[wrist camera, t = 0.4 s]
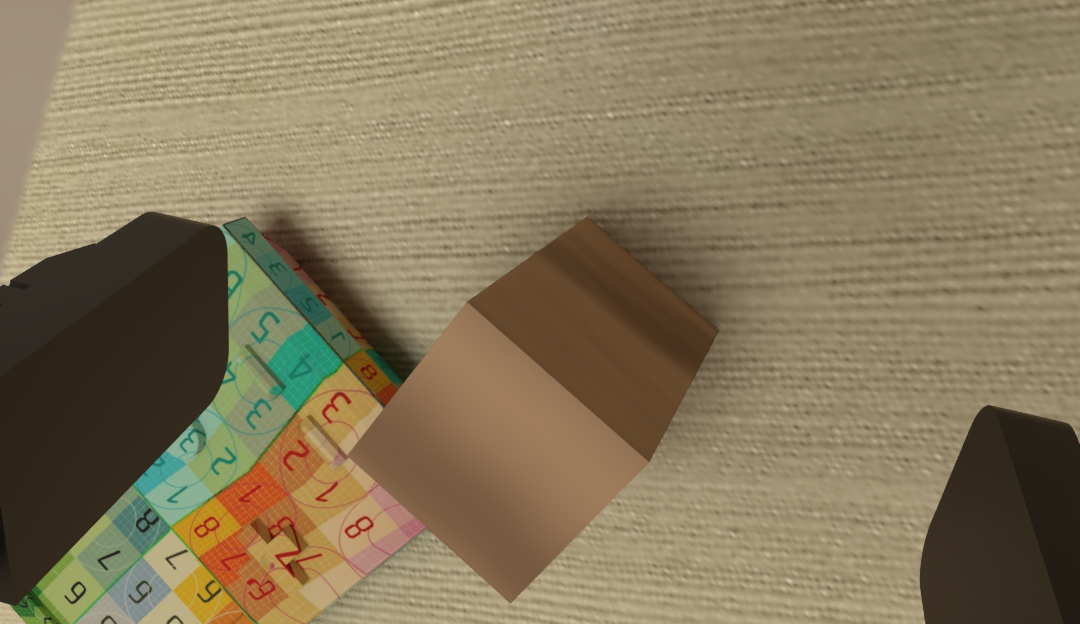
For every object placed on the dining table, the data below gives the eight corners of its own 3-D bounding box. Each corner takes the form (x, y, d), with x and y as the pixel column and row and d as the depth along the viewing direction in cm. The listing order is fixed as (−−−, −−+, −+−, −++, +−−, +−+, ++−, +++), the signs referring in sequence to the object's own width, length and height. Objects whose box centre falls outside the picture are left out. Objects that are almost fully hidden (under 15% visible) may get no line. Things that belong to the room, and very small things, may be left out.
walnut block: (587, 216, 32) (467, 301, 23) (718, 330, 32) (649, 462, 23) (490, 336, 35) (347, 455, 26) (612, 443, 34) (510, 603, 25)
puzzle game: (453, 510, 32) (129, 772, 40) (505, 450, 36) (202, 698, 44) (205, 230, 32) (-68, 551, 40) (286, 202, 36) (25, 498, 44)
